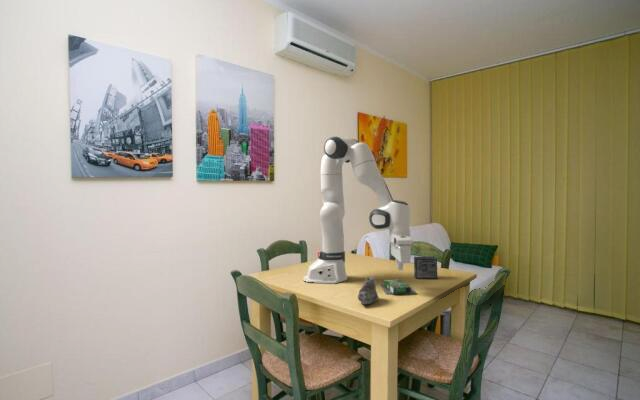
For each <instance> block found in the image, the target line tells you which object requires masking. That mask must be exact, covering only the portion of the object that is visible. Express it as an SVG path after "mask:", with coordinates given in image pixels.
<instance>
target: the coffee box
mask: <svg viewBox="0 0 640 400" xmlns="http://www.w3.org/2000/svg"><path fill="white" fill-rule="evenodd" d="M406 284H407V283H406V282H403V281H402V280H401V279H388V280H387V279H386V280H383V284H382V285H383V286H384V287H385V288H387V289H388V290H389V291H390V292H392V293H393V294H392V295H404V294H403V293H411V288H412V286H410V285H409V284H408V285H409V286H408V285H406Z"/></svg>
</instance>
